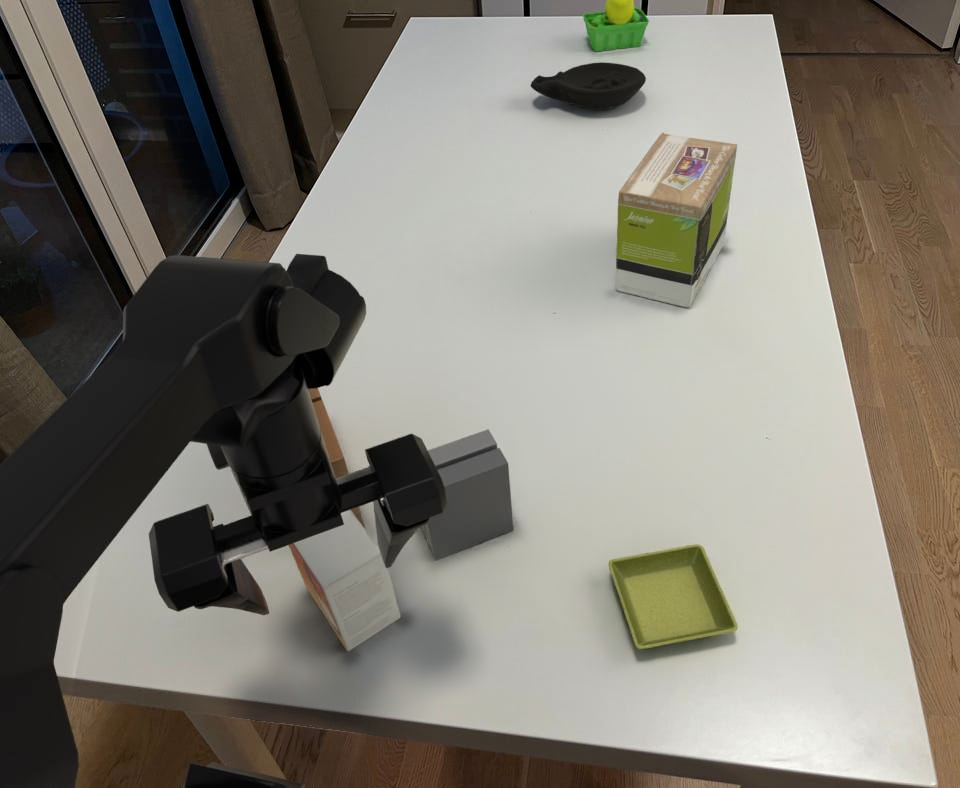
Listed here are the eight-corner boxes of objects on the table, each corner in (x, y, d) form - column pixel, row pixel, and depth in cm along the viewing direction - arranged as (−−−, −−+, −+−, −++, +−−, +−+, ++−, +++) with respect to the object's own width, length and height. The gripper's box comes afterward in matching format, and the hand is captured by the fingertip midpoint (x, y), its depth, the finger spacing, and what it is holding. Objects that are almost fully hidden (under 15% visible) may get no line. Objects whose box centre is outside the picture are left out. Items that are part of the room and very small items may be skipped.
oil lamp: (532, 86, 145) (531, 58, 141) (640, 81, 143) (642, 53, 139) (530, 124, 134) (529, 96, 131) (647, 119, 132) (649, 90, 129)
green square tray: (699, 555, 72) (701, 542, 71) (736, 642, 66) (740, 629, 65) (606, 572, 72) (607, 560, 70) (635, 662, 66) (636, 649, 64)
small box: (306, 589, 73) (277, 521, 66) (359, 557, 75) (337, 488, 68) (347, 654, 68) (320, 589, 61) (403, 618, 70) (383, 551, 63)
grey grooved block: (435, 560, 74) (421, 494, 67) (419, 524, 77) (405, 458, 70) (513, 530, 76) (508, 463, 69) (495, 496, 79) (488, 428, 72)
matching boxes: (306, 553, 76) (276, 481, 68) (272, 437, 87) (243, 364, 79) (366, 531, 77) (344, 457, 69) (325, 420, 88) (302, 345, 81)
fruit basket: (637, 33, 158) (641, -28, 150) (650, 50, 152) (654, -13, 144) (581, 40, 158) (582, -21, 150) (591, 58, 151) (593, -5, 143)
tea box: (652, 229, 109) (661, 128, 99) (725, 245, 106) (742, 142, 95) (612, 292, 100) (617, 188, 90) (689, 311, 97) (704, 205, 86)
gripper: (381, 321, 55) (411, 467, 66) (105, 406, 51) (185, 548, 62) (437, 425, 47) (460, 571, 58) (117, 535, 43) (206, 671, 54)
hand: (327, 585), depth 58 cm, fingers open, 9 cm apart
